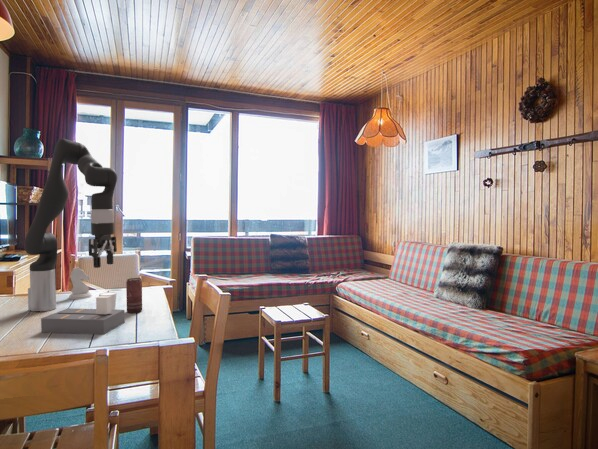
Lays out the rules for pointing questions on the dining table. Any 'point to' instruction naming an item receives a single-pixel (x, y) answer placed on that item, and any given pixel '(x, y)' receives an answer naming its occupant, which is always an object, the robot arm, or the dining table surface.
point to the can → (134, 295)
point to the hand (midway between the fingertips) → (103, 265)
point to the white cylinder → (113, 298)
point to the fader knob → (103, 305)
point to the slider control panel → (82, 321)
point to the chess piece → (79, 284)
